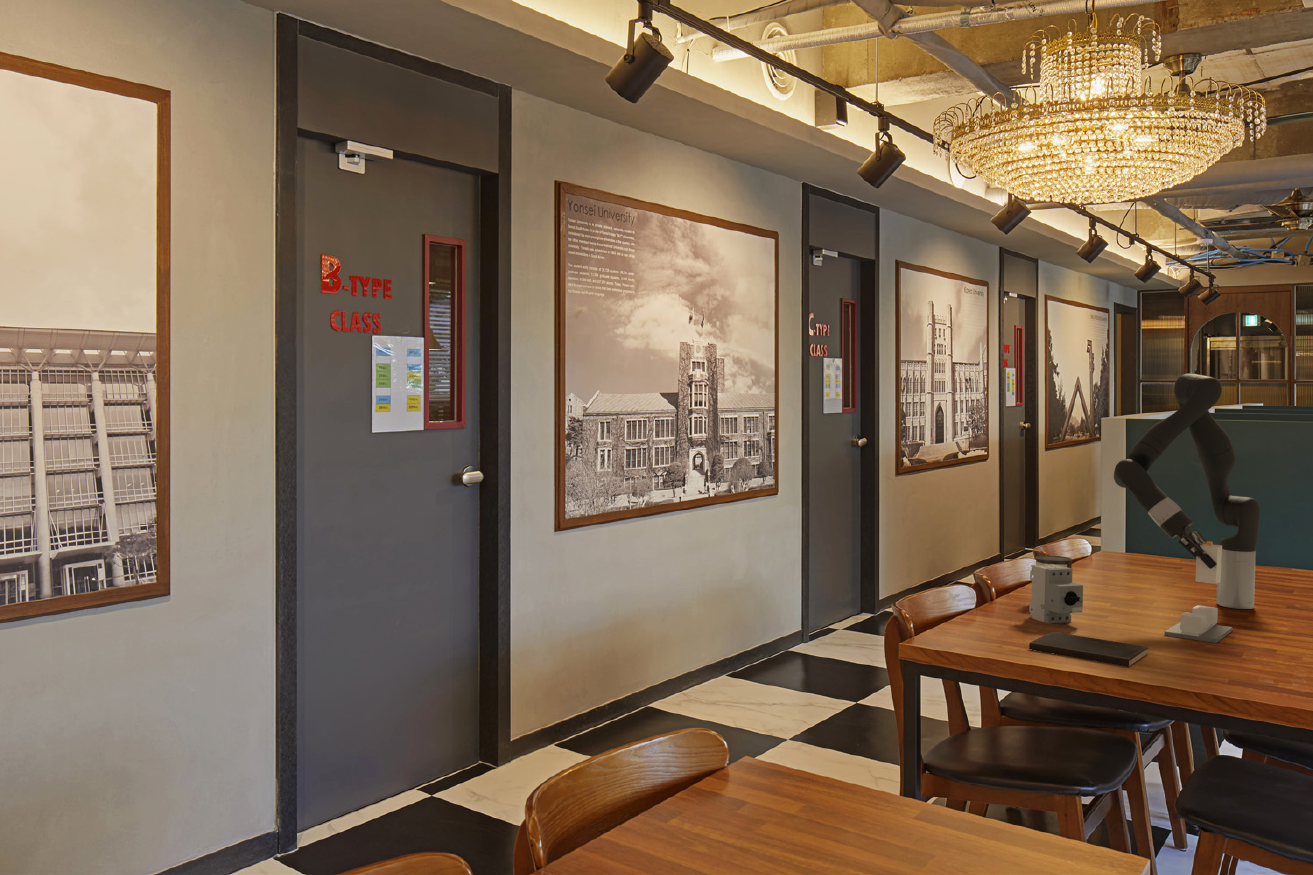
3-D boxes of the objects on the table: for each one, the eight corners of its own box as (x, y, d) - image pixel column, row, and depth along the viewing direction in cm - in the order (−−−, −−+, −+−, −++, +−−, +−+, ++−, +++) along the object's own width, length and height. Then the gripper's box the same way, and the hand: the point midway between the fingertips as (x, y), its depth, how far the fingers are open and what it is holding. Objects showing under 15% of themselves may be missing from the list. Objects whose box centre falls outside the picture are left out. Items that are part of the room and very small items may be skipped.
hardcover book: (1051, 640, 249) (1051, 631, 249) (1148, 656, 234) (1148, 646, 234) (1028, 651, 238) (1029, 642, 237) (1128, 669, 222) (1129, 659, 222)
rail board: (1182, 623, 267) (1183, 602, 266) (1232, 630, 259) (1232, 609, 258) (1164, 635, 253) (1165, 613, 253) (1216, 643, 245) (1216, 620, 245)
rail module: (1200, 579, 267) (1201, 539, 267) (1220, 581, 264) (1222, 541, 264) (1195, 581, 264) (1197, 541, 263) (1215, 583, 260) (1217, 543, 260)
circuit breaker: (1062, 628, 260) (1064, 573, 259) (1029, 617, 274) (1030, 564, 273) (1086, 627, 262) (1087, 572, 261) (1051, 615, 276) (1052, 563, 275)
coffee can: (1053, 599, 299) (1054, 554, 298) (1078, 606, 289) (1080, 559, 289) (1027, 601, 295) (1028, 556, 294) (1052, 608, 285) (1053, 561, 285)
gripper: (1173, 510, 263) (1221, 559, 255) (1187, 507, 274) (1234, 554, 266) (1151, 528, 267) (1198, 577, 259) (1166, 524, 277) (1212, 571, 270)
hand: (1216, 565), depth 262 cm, fingers closed on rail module, 5 cm apart
